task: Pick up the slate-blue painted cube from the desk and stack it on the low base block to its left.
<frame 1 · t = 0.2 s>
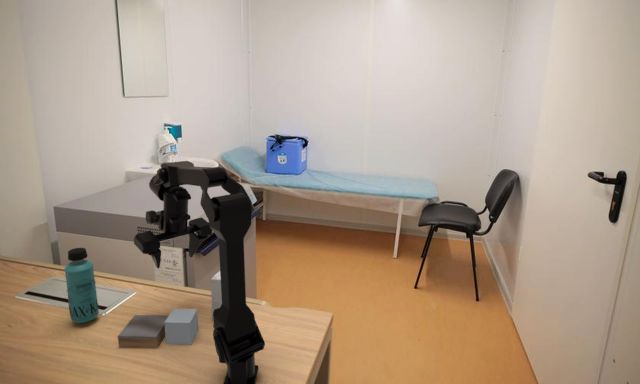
hand: (174, 261, 105), 15 cm above the table, tool pointing down, fingers open, 9 cm apart
base: (146, 336, 98), on the table
skincare box: (224, 315, 108), on the table
beverage bottle: (86, 321, 103), on the table
cube: (182, 337, 98), on the table
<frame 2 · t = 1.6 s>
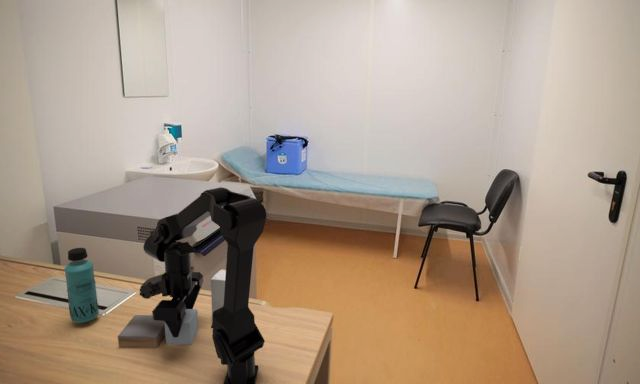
hand: (182, 325, 97), 3 cm above the table, tool pointing down, fingers open, 9 cm apart
nothing on the table moved.
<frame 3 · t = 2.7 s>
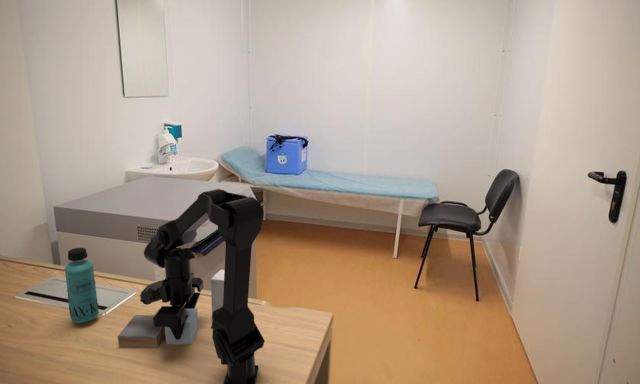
hand: (182, 331, 97), 2 cm above the table, tool pointing down, fingers closed on cube, 6 cm apart
cube: (182, 336, 98), on the table, touching gripper
everything else where it was.
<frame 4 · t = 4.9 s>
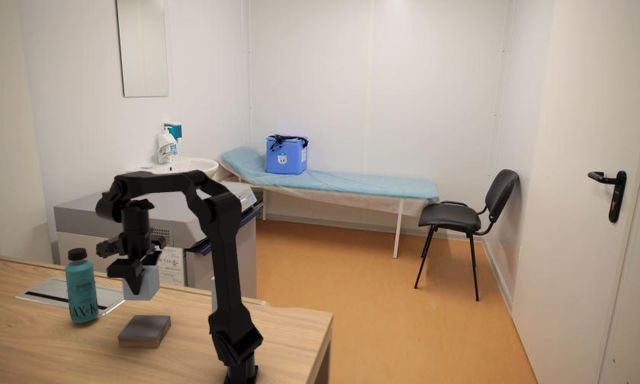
hand: (142, 288, 95), 13 cm above the table, tool pointing down, fingers closed on cube, 6 cm apart
cube: (142, 293, 95), point 11 cm above the table, touching gripper
everything else where it was.
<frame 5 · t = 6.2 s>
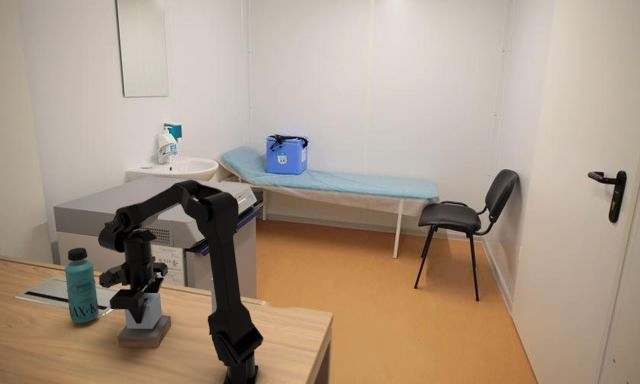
hand: (144, 315, 96), 6 cm above the table, tool pointing down, fingers closed on cube, 6 cm apart
cube: (144, 321, 97), point 4 cm above the table, touching gripper
everything else where it was.
when the fingers open (5 cm above the table, at t = 7.1 s): cube stays where it is, resting on base.
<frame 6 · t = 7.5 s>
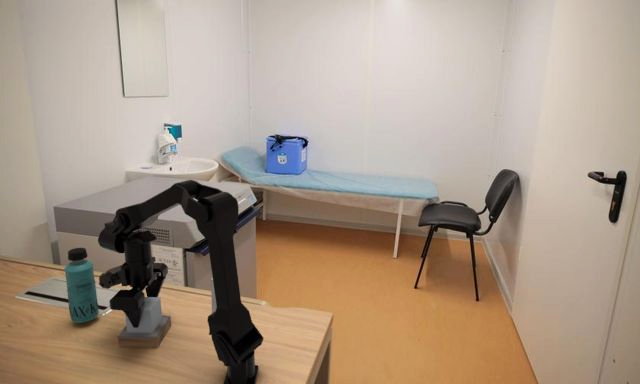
hand: (144, 316, 96), 5 cm above the table, tool pointing down, fingers open, 9 cm apart
cube: (145, 325, 97), point 3 cm above the table, touching base
everything else where it was.
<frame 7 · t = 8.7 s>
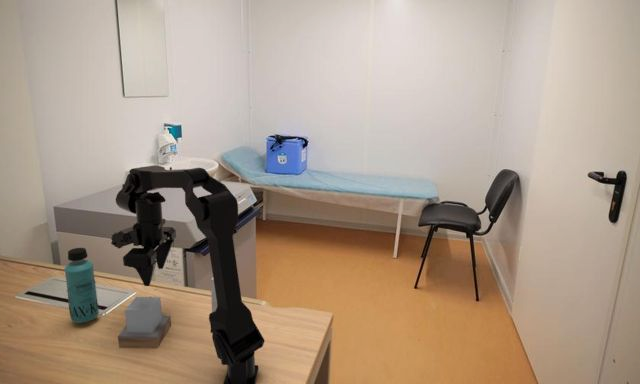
hand: (154, 276, 100), 13 cm above the table, tool pointing down, fingers open, 9 cm apart
nothing on the table moved.
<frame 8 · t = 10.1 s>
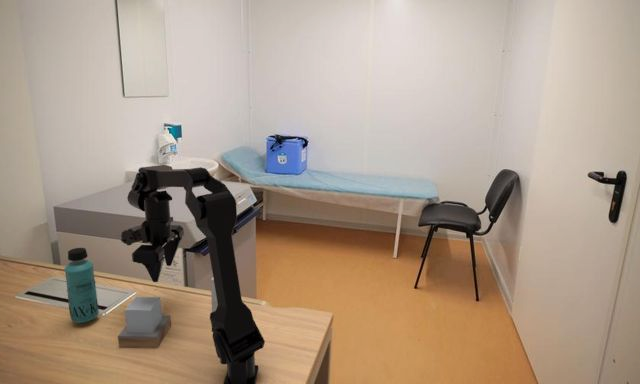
hand: (162, 273, 102), 13 cm above the table, tool pointing down, fingers open, 9 cm apart
nothing on the table moved.
at the end: cube inside the target area on the base (0.0 cm from its centre), point 3.0 cm above the base's base; cube tilted 0°; the gripper is holding nothing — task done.
